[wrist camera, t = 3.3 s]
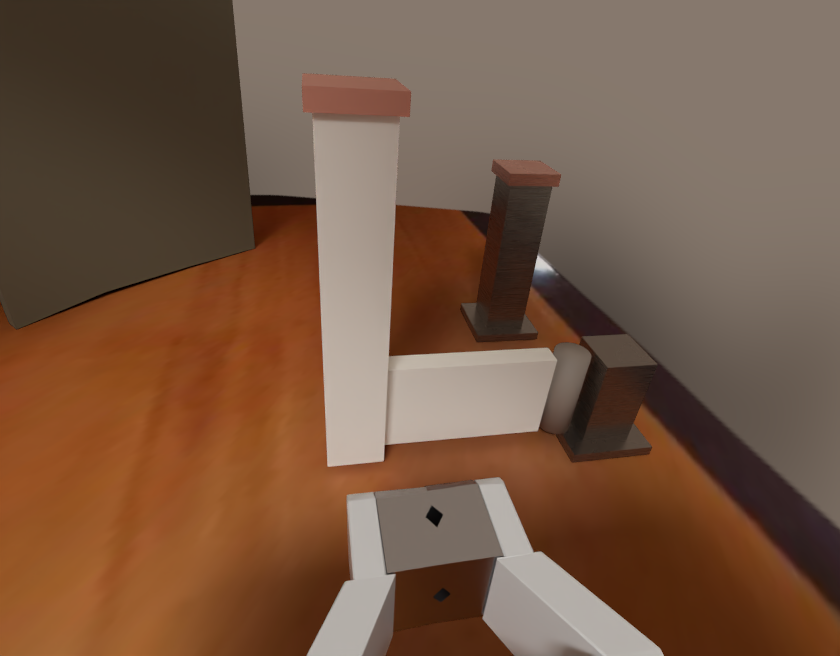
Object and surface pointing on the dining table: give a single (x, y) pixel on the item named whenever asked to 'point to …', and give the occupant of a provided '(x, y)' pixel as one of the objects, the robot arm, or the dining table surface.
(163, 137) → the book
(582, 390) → the hinge post
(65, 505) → the dining table surface
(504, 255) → the post
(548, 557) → the robot arm
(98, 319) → the dining table surface
